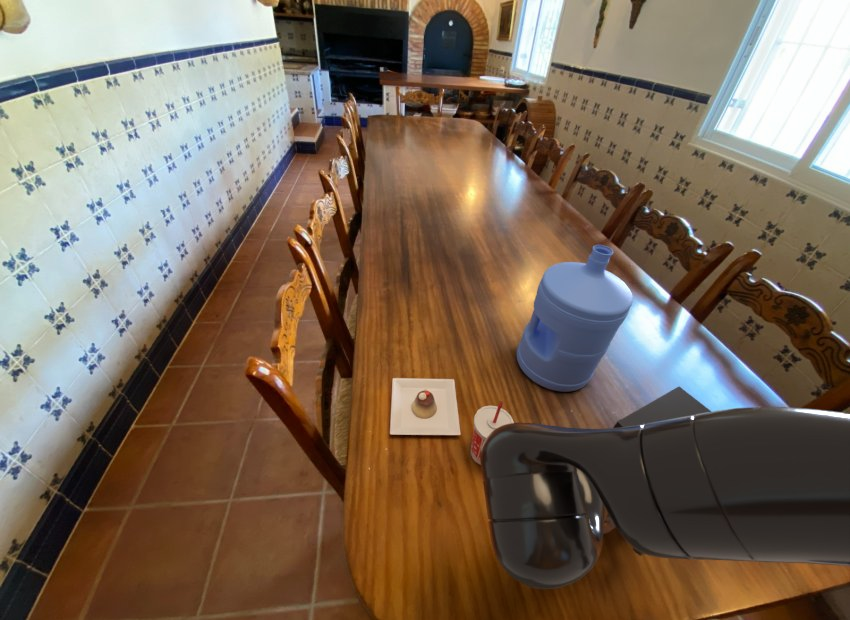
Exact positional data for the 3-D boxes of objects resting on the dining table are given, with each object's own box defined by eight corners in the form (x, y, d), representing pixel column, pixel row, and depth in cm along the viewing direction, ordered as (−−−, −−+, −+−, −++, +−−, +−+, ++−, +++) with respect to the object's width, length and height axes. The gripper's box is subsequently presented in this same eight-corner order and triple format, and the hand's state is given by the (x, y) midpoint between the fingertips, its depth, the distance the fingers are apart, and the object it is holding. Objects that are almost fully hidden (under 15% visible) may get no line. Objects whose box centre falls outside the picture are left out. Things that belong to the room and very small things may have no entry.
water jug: (587, 348, 81) (645, 237, 63) (592, 403, 69) (665, 286, 51) (518, 331, 83) (555, 220, 65) (511, 381, 72) (553, 263, 54)
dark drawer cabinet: (658, 530, 52) (699, 500, 45) (591, 456, 60) (617, 421, 54) (717, 482, 58) (760, 449, 52) (649, 421, 67) (679, 385, 60)
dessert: (453, 382, 70) (456, 366, 67) (459, 438, 61) (463, 422, 58) (392, 381, 70) (392, 365, 67) (389, 437, 60) (389, 422, 57)
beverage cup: (509, 452, 60) (530, 402, 51) (488, 478, 56) (507, 430, 47) (479, 429, 63) (495, 378, 54) (458, 452, 59) (471, 402, 50)
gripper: (675, 539, 33) (683, 524, 46) (563, 417, 43) (595, 432, 55) (614, 586, 34) (637, 559, 47) (518, 458, 44) (559, 463, 56)
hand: (614, 490), depth 51 cm, fingers closed on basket, 6 cm apart
